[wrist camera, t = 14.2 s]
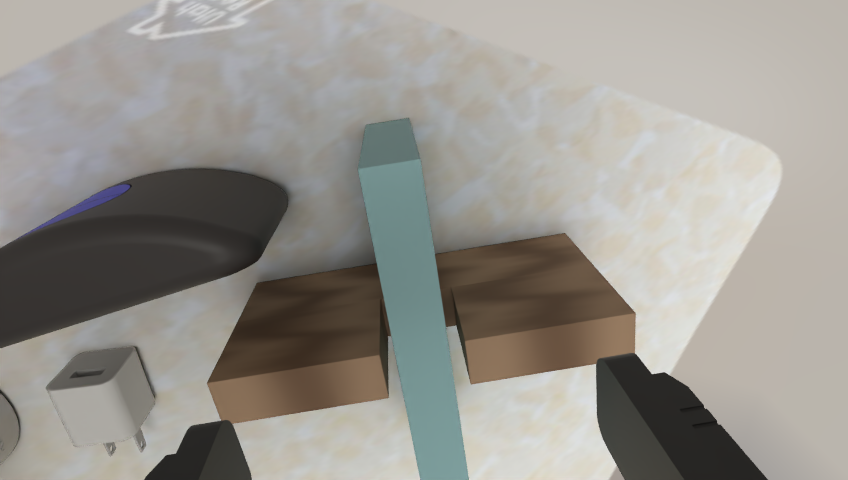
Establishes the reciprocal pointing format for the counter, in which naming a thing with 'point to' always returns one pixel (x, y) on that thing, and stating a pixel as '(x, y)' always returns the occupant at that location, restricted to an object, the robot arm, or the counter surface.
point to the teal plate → (412, 295)
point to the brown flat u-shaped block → (463, 306)
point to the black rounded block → (134, 247)
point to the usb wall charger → (103, 397)
